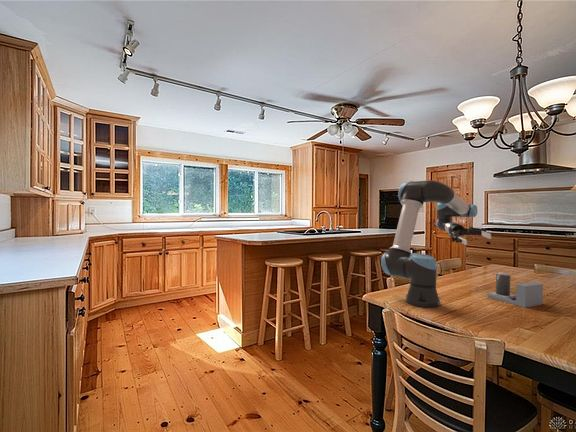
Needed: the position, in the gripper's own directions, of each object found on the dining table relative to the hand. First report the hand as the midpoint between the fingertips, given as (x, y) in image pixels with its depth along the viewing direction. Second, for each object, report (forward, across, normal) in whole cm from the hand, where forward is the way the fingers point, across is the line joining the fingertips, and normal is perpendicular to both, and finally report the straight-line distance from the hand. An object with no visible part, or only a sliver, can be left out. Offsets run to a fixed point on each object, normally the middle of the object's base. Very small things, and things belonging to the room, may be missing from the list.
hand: (478, 239), depth 160 cm
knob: (+14, 0, -27) cm, 31 cm away
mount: (+18, -2, -27) cm, 33 cm away
